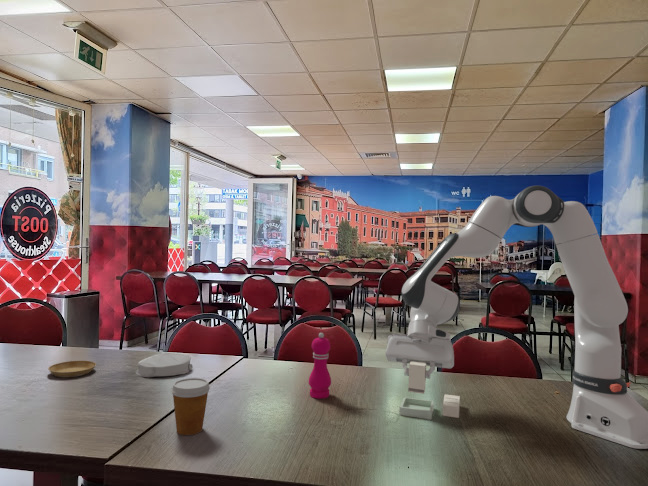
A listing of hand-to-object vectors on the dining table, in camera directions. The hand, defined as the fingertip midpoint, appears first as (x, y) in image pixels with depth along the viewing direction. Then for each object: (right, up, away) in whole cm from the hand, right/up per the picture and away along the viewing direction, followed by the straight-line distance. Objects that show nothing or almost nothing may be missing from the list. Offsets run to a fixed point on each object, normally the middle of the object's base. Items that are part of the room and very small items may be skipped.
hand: (417, 376), depth 128 cm
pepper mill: (-29, -10, +12) cm, 33 cm away
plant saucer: (-116, -7, +28) cm, 120 cm away
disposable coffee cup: (-61, -9, -16) cm, 64 cm away
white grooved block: (+11, -11, +2) cm, 15 cm away
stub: (0, -4, +1) cm, 4 cm away
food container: (-86, -8, +34) cm, 93 cm away
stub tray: (0, -10, +1) cm, 10 cm away
